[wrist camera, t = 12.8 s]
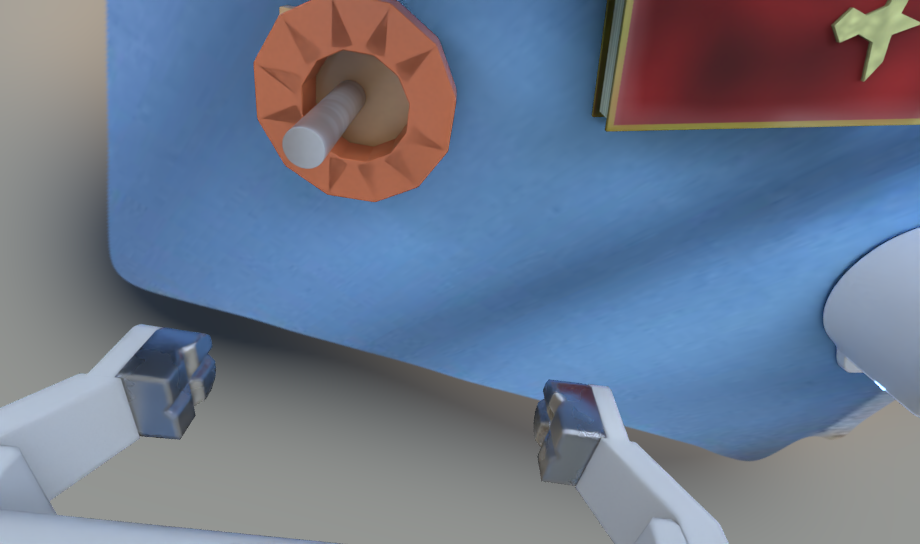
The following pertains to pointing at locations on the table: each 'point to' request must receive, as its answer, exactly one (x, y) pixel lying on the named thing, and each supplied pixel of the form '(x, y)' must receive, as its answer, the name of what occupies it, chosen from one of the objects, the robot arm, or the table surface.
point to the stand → (348, 108)
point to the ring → (395, 45)
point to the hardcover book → (758, 64)
